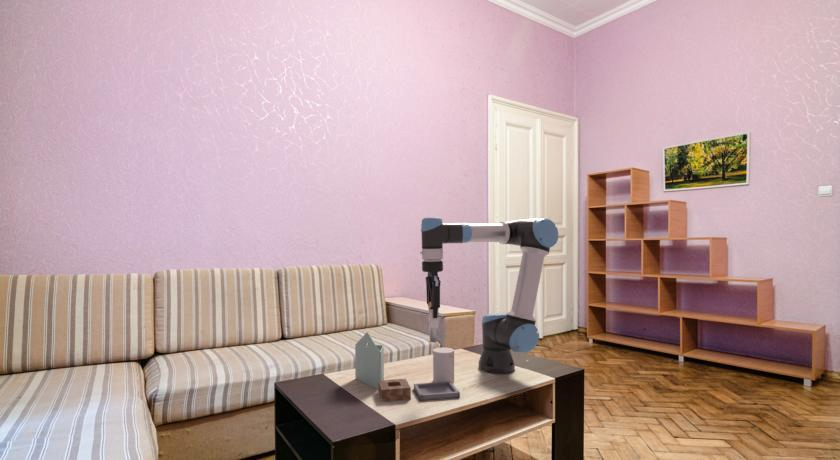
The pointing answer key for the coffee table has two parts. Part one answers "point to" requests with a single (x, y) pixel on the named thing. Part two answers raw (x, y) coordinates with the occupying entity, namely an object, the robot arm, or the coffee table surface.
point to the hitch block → (394, 390)
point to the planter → (369, 361)
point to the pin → (432, 329)
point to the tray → (436, 391)
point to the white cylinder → (443, 365)
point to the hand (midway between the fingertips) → (433, 325)
